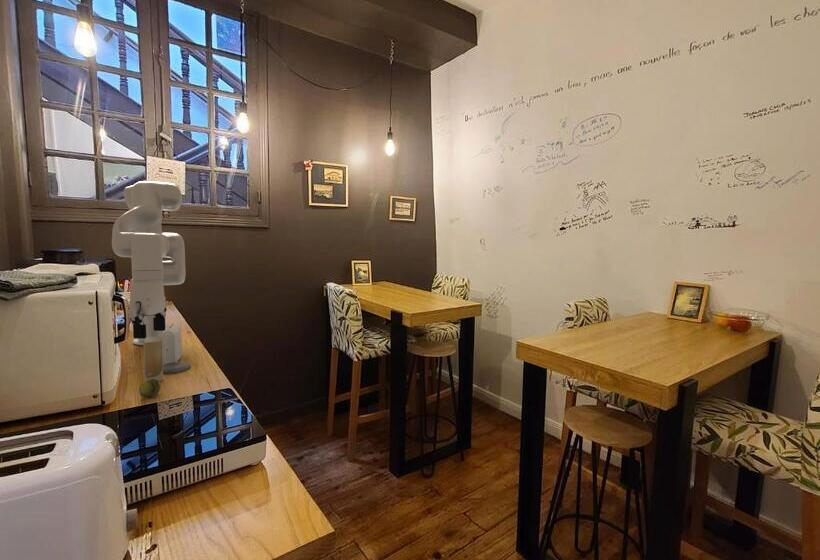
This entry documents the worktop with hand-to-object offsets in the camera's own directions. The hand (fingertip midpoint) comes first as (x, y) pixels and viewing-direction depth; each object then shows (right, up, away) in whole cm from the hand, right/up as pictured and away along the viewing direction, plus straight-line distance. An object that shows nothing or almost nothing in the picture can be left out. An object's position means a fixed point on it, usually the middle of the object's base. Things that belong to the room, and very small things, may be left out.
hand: (150, 334), depth 117 cm
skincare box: (0, -14, +2) cm, 14 cm away
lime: (+7, -16, -10) cm, 20 cm away
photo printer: (-5, -12, +19) cm, 23 cm away
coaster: (+1, -13, +11) cm, 17 cm away
